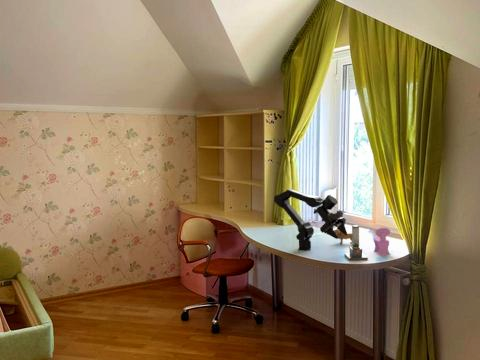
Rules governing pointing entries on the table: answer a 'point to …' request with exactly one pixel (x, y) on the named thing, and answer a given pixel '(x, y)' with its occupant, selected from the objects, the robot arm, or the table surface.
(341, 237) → the lion figurine
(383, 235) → the pink figurine
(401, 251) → the table surface
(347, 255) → the stand base
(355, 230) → the steel post
